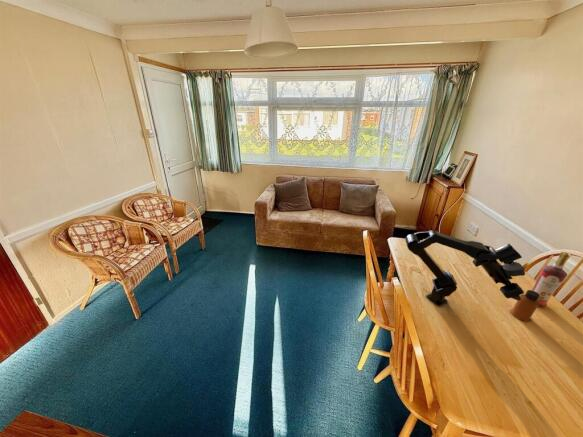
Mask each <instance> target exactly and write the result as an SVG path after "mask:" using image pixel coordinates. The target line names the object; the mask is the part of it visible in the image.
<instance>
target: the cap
mask: <svg viewBox="0 0 583 437" xmlns="http://www.w3.org/2000/svg"><path fill="white" fill-rule="evenodd" d="M524 294H525V297H526V298H528V299H530V300H533V301H537V300H538V298H539V296H540V295H539V294H538V293H537V292H535V291H532V289H527V291H526V292H525V293H524Z"/></svg>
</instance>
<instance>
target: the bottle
mask: <svg viewBox="0 0 583 437" xmlns="http://www.w3.org/2000/svg"><path fill="white" fill-rule="evenodd" d="M525 294H526V293H524V294H521V295H520V298H521V300H519V301H518V300H516V302H515V304H514V306H513V307H512V309H511V311H510V313H511V315H512V316H514V317H515V318H516V319H518V320H521V321H524V322H529V321H530V320H531V318H532V316H533V314H534V313H535V311H536V310H537V308H538V307H539V306H538V305H539V301H538V300H537V301H533V300H530V299H528V298H526V297H525Z"/></svg>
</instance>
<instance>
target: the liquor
mask: <svg viewBox="0 0 583 437" xmlns="http://www.w3.org/2000/svg"><path fill="white" fill-rule="evenodd" d="M570 257H571V254H570V253H569V252H566V251H561V252H560V254H559V256H558V258H557V259H556V261H555V262H554V263H553V265H544V266H543V267H542V269H541V271H540V273H539V275H538V276H537V279H536V281H535V284H534V285H533V287H532V288H531V290H532V291H535V292H537V293H538V294H539V295H540V296H539V298H538V301H539V305H538V307H546V306H548V301H549V300H550V299H551V298H552V296H553V294H554V293H555V292H556V291H557V290H558V288H560V286H561V284H562V283H563V282H564V281H565V279H566V278H567V277H568V272H566V270H564V269H563V268H564V266H565V265H566V262H567V261H568V260H569V258H570Z"/></svg>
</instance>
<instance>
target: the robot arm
mask: <svg viewBox="0 0 583 437" xmlns="http://www.w3.org/2000/svg"><path fill="white" fill-rule="evenodd" d="M404 240H405V244H406V246H407V247H406V248H407V250H409V252H411V253H412V254H413V255H415V256H417V257H419V259H420V260H421V261H422V262H423V264H424V265H425V266H426V267H427V268H428V269H429V271H430V272H431V273H432V274H433V275H434V276H435V278H433V279H431V281H432V282H431V283H432V284H433V287H432V290H431V293H430V294H428V295H426V298H427V299H428V300H430V301H431V302H433V303H434V304H435V305H436V306H442V305H444V304H445V303H447V302H448V300H447V299H446V297H450V296H451V295H452V294H453V293H454V292H456V291H457V289H458V283H457V281H456V279H455V276H454V275H453V274H452V273H451V272H450V271H449V269H447V270H443V268H441V266H440V264H438V262H437V261H436V260H435V259H434V258H433V256H431V254H430V253H429V252H428V250H427V248H429V247H430V246H431V245H433V244H439V245H442V246H445V247H448V248H451V249H454V250H456V251H460V252H462V253H463V254H466V255H467V256H469V257H470V258H472V259H473V260H472V264H473V265H474V267H475V268H478V267H480V266H481V268H483V270H484V271H485V272H486V273H487V274H488V276H489V277H490V278H491V279H492V281H493V282H494V283H495V285H496V284H502V285H503V286H500V287H499V291H500V292H501V294H502V295H503V296H504V298H506V299H508V300H509V299H512V300H515V301H517V300H518V301H519V300H521V298H520V295H523V294H525V291H524V290H523V289H522V287H521V286H520V285H519V284H518V283H517V282H511V280H513V279H514V277H519V276H522V277H523V276H525V275H526V271H525V267H524V266H523V265H522V264H521V263H520V262H518V261H517V260H520V259H522V258H523V256H522V255H521V253H519V252H518V251H517V250H516V249H515V248H514V247H513V245H511V244H510V243H507V244H505V245H503V246H501V247H499V248H496V249H495V248H494V247H492V246H491V245H486V244H484V243H483V242H480V241H475V240H463V239H460V238H457V237H454V236H451V235H448V234H445V233H442V232H439V231H437V230H433V229H432V230H428V231H419V232H414V233H410V234H407V236H405V239H404ZM502 263H503V265H502Z"/></svg>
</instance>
